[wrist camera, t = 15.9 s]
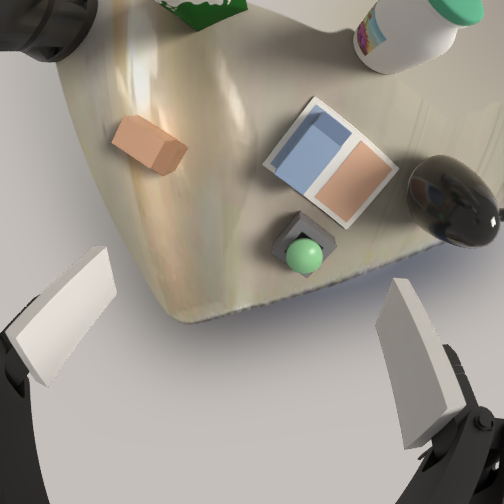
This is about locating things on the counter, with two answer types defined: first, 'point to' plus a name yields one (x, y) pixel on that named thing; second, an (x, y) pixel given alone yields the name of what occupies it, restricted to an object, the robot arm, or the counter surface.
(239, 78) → the counter surface
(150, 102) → the counter surface
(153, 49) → the counter surface
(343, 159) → the picture board
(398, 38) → the milk bottle
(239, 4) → the milk carton
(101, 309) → the robot arm
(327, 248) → the button housing
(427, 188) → the pump dispenser
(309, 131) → the block
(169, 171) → the block
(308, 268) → the button
